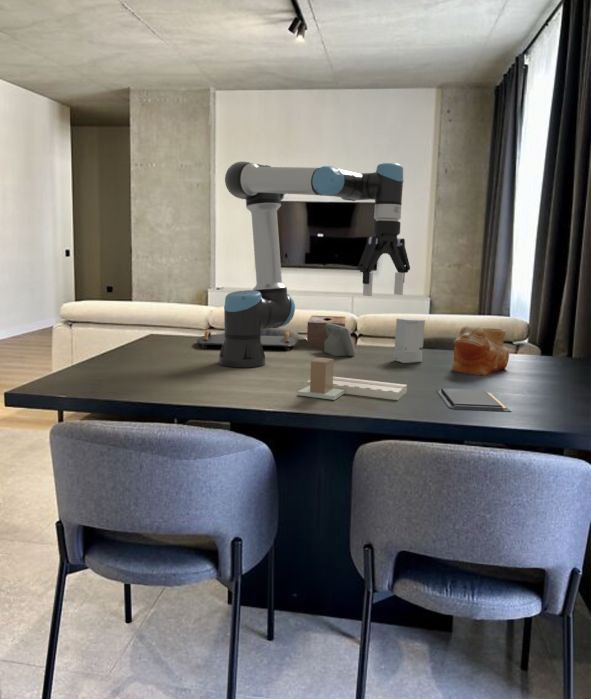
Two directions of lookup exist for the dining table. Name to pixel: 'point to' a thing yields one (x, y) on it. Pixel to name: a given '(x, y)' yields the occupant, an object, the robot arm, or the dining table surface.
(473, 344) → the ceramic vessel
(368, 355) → the dining table surface
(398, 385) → the pad
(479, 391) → the wallet
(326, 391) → the stub
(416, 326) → the skincare box
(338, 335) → the digital clock
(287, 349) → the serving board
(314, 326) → the tissue box cover
